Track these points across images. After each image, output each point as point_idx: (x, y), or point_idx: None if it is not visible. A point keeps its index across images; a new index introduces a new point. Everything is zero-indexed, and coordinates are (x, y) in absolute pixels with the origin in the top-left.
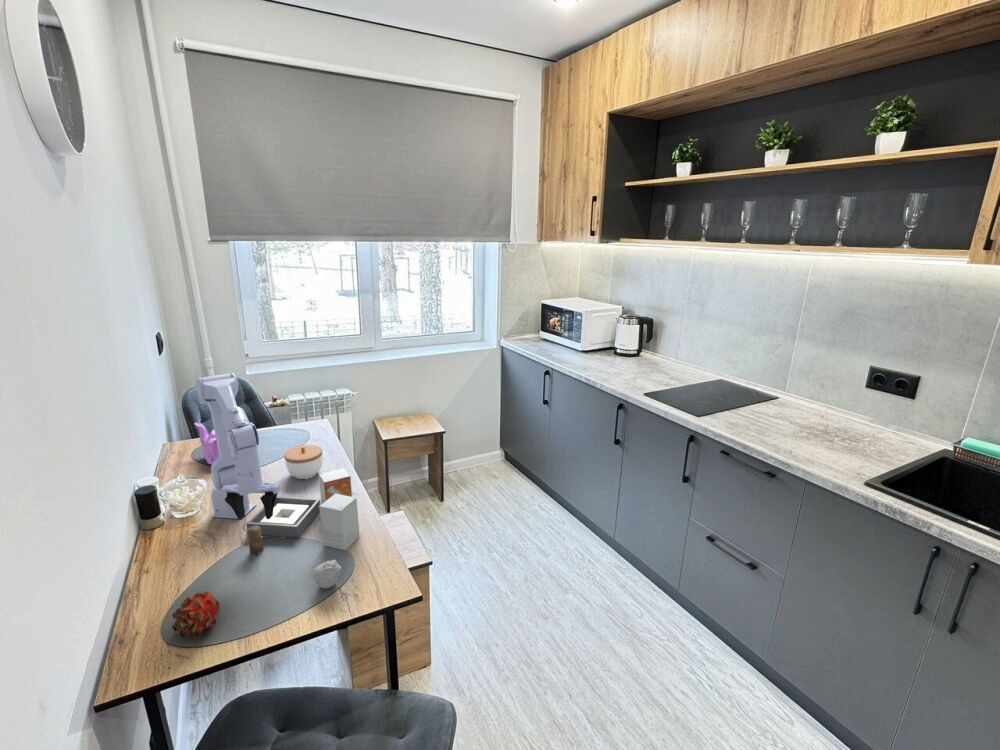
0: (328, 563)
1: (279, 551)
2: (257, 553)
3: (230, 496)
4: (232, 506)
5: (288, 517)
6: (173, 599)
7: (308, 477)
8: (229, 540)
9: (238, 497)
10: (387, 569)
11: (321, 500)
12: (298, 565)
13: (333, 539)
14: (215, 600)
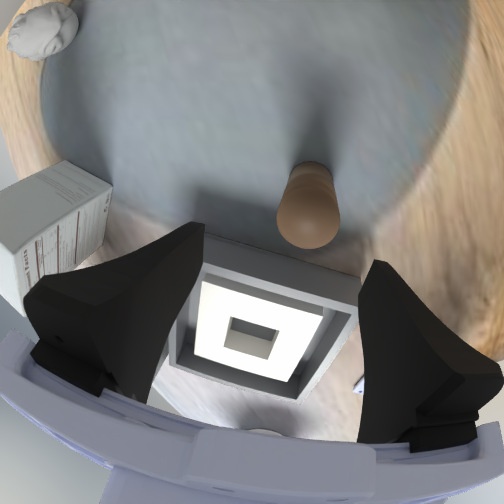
0: (13, 29)
1: (229, 169)
2: (302, 164)
3: (457, 413)
4: (439, 327)
5: (253, 332)
6: (476, 14)
7: (253, 431)
8: (411, 265)
9: (395, 406)
10: (5, 105)
11: (160, 357)
12: (147, 92)
13: (66, 179)
14: None
